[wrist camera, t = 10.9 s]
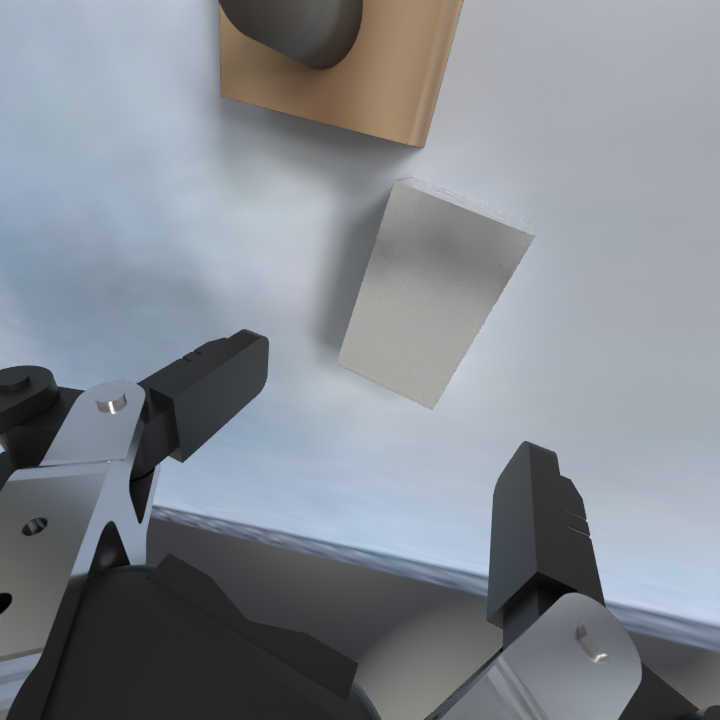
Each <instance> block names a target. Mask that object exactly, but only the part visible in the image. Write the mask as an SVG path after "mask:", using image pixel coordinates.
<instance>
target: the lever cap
mask: <svg viewBox="0 0 720 720" xmlns="http://www.w3.org/2000/svg"><path fill="white" fill-rule="evenodd" d="M534 237H535V235H534V232H533V230H532V228H531V226H530V223H528V222H526V221H523V220H521V219H518V218H516V217H513V216H510V215H508V214H505V213H503V212H500V211H498V210H495V209H492V208H490V207H487V206H485V205H482V204H480V203H477V202H474V201H472V200H469V199H467V198H464V197H462V196H459V195H457V194H454V193H451V192H449V191H446V190H444V189H441V188H439V187H436V186H433V185H431V184H428V183H426V182H423V181H421V180H418V179H415V178H407V179H402V180H396V181H394V184H393V187H392V190H391V193H390V196H389V200H388V203H387V206H386V209H385V212H384V215H383V218H382V222H381V225H380V228H379V231H378V234H377V237H376V240H375V243H374V247H373V250H372V253H371V256H370V259H369V262H368V265H367V268H366V272H365V275H364V278H363V281H362V284H361V287H360V290H359V293H358V297H357V300H356V303H355V306H354V309H353V312H352V315H351V318H350V322H349V325H348V328H347V331H346V334H345V337H344V340H343V343H342V347H341V350H340V353H339V356H338V359H337V362H336V364H338V365H340V366H342V367H344V368H346V369H348V370H350V371H352V372H354V373H356V374H359V375H361V376H363V377H365V378H367V379H369V380H371V381H373V382H375V383H377V384H379V385H381V386H384V387H386V388H388V389H390V390H392V391H394V392H396V393H398V394H400V395H402V396H404V397H406V398H408V399H411V400H413V401H415V402H417V403H419V404H421V405H423V406H425V407H427V408H429V409H431V410H433V408H434V406H435V405H436V403H437V401H438V400H439V398H440V396H441V395H442V393H443V391H444V389H445V388H446V386H447V384H448V383H449V381H450V379H451V378H452V376H453V374H454V373H455V371H456V369H457V367H458V366H459V364H460V362H461V361H462V359H463V357H464V356H465V354H466V352H467V351H468V349H469V347H470V345H471V344H472V342H473V340H474V339H475V337H476V335H477V334H478V332H479V330H480V329H481V327H482V325H483V323H484V322H485V320H486V318H487V317H488V315H489V313H490V312H491V310H492V308H493V306H494V305H495V303H496V301H497V300H498V298H499V296H500V295H501V293H502V291H503V290H504V288H505V286H506V284H507V283H508V281H509V279H510V278H511V276H512V274H513V273H514V271H515V269H516V268H517V266H518V264H519V262H520V261H521V259H522V257H523V256H524V254H525V252H526V251H527V249H528V247H529V246H530V244H531V242H532V240H533V239H534Z"/></svg>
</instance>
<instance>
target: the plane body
mask: <svg viewBox="0 0 720 720" xmlns="http://www.w3.org/2000/svg"><path fill="white" fill-rule="evenodd" d="M218 1H219V18H220V75H221V97H225V98H229V99H232V100H236V101H240V102H244V103H248V104H252V105H256V106H260V107H263V108H267V109H271V110H275V111H279V112H283V113H287V114H291V115H294V116H298V117H302V118H306V119H310V120H314V121H318V122H322V123H325V124H329V125H333V126H337V127H341V128H345V129H349V130H353V131H356V132H360V133H364V134H368V135H372V136H376V137H380V138H384V139H387V140H391V141H395V142H399V143H403V144H407V145H412V146H417V147H422V148H424V146H425V142H426V138H427V135H428V131H429V127H430V123H431V120H432V116H433V112H434V108H435V105H436V101H437V97H438V94H439V90H440V86H441V82H442V79H443V75H444V71H445V67H446V64H447V60H448V56H449V53H450V49H451V45H452V41H453V38H454V34H455V30H456V27H457V23H458V19H459V15H460V12H461V8H462V4H463V0H218Z"/></svg>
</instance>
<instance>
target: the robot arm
mask: <svg viewBox="0 0 720 720" xmlns="http://www.w3.org/2000/svg"><path fill="white" fill-rule="evenodd" d="M268 353H269V341H268V339H267V337H264V336H262V335H259V334H257V333H254V332H252V331H249V330H247V329H243V330H241V331H239V332H237V333H236V334H234V335H233V336H231V337H229V338H228V339H227V338H221V339H218V340H214V341H210V342H207V343H206V344H204V345H202V346H200V347H199V348H197V349H195V350H194V352H190V353H188V354H187V355H185V356H183V358H182V359H178V360H176V361H175V362H173V363H171V364H170V365H168V366H166V367H165V368H163V369H161V370H159V371H158V372H156V373H154V374H153V375H151V376H149V377H147V378H146V379H144V380H142V381H141V382H139V383H137V384H135V383H132V382H126V381H114V382H107V383H103V384H100V385H97V386H94V387H92V388H90V389H88V390H86V391H83V390H77V389H70V388H64V387H58V386H57V384H56V382H55V379H54V377H53V374H52V372H51V371H49V370H48V369H46V368H43V367H39V366H16V367H10V368H6V369H2V370H0V443H1V445H2V447H3V448H4V450H5V451H4V452H2V453H1V454H0V720H381V718H380V716H379V714H378V713H377V711H376V709H375V707H374V705H373V703H372V702H371V701H370V699H369V698H368V696H367V695H366V693H365V692H364V691H363V689H362V688H361V687H360V686H359V685H358V684H357V683H356V681H355V680H354V676H355V673H356V669H357V666H358V663H356V662H355V661H353V660H351V659H350V658H348V657H346V656H344V655H343V654H341V653H339V652H337V651H336V650H334V649H332V648H331V647H329V646H327V645H326V644H324V643H322V642H320V641H319V640H317V639H315V638H314V637H312V636H310V635H309V634H307V633H302V632H297V631H293V630H288V629H283V628H278V627H274V626H269V625H264V624H260V623H255V622H252V621H249V620H248V619H246V618H245V617H244V616H243V614H242V613H241V612H240V611H239V610H238V609H237V608H236V606H235V605H234V604H233V603H232V601H231V600H230V599H229V598H228V597H227V596H226V594H225V593H224V592H223V591H222V590H221V589H220V588H219V586H218V585H217V584H216V583H215V581H214V580H213V579H212V578H211V577H209V576H208V575H206V574H204V573H202V572H201V571H199V570H197V569H196V568H194V567H192V566H191V565H189V564H187V563H186V562H184V561H182V560H180V559H179V558H177V557H175V556H173V555H172V554H170V553H169V554H168V555H167V556H166V557H165V558H164V559H163V560H162V562H161V563H160V564H159V565H158V566H156V565H145V561H146V532H147V527H148V522H149V518H150V513H151V509H152V504H153V500H154V495H155V491H156V486H157V482H158V477H159V473H160V462H161V461H163V460H164V459H165V458H166V457H167V456H170V457H172V458H174V459H176V460H178V461H180V462H181V463H183V462H184V461H185V460H186V459H188V458H189V457H190V456H191V455H192V454H193V453H194V452H195V451H196V450H197V449H199V448H200V447H201V446H202V445H203V444H204V443H205V442H206V441H207V440H208V439H210V438H211V437H212V436H213V435H214V434H215V433H216V432H217V431H218V430H219V429H221V428H222V427H223V426H224V425H225V424H226V423H227V422H228V421H229V420H230V419H232V418H233V417H234V416H235V415H236V414H237V413H238V412H239V411H240V410H241V409H243V408H244V407H245V406H246V405H247V404H248V403H249V402H250V401H251V400H252V399H254V398H255V397H256V396H257V395H258V394H259V393H260V392H261V390H262V389H263V387H264V385H265V383H266V380H267V372H268ZM586 519H587V518H586V513H585V509H584V504H583V499H582V498H581V496H580V494H579V493H578V491H577V489H576V488H575V486H574V484H573V483H572V481H571V479H568V478H566V477H563V476H561V475H560V471H559V465H558V458H557V455H556V453H555V452H553V451H550V450H548V449H545V448H543V447H540V446H538V445H535V444H533V443H530V442H528V441H524V442H523V443H522V444H521V445H520V447H519V448H518V450H517V451H516V453H515V454H514V456H513V457H512V459H511V460H510V461H509V463H508V464H507V466H506V467H505V469H504V470H503V472H502V473H501V475H500V477H499V479H498V481H497V483H496V486H495V490H494V494H493V508H492V527H491V546H490V565H489V583H488V602H487V603H488V604H487V621H488V622H490V623H492V624H494V625H496V626H498V627H500V628H501V629H503V646H501V647H500V648H499V649H498V650H497V651H496V652H495V653H494V654H493V655H492V656H491V657H489V658H488V659H487V660H486V661H485V662H484V663H483V664H482V665H481V666H480V667H479V668H478V669H477V670H476V671H475V672H474V673H473V674H472V675H471V676H470V677H469V678H468V679H466V680H465V682H463V683H462V685H460V686H459V687H458V688H457V689H456V690H455V691H454V692H453V693H452V694H451V695H450V696H449V697H448V698H447V699H446V700H445V701H443V702H442V703H441V704H440V705H439V706H438V707H437V708H436V709H435V710H434V711H433V712H431V714H429V715H428V716H427V717H426V718H425V719H424V720H720V706H719V705H715V706H711V707H708V708H705V709H702V710H699V709H698V708H697V707H696V706H694V705H693V704H692V703H690V702H689V701H688V700H687V699H685V698H684V697H683V696H682V695H680V694H679V693H678V692H677V691H676V690H674V689H673V688H672V687H671V686H670V685H668V684H667V683H666V682H664V681H663V680H662V679H661V678H660V677H658V676H657V675H656V674H655V673H653V672H652V671H651V670H650V669H649V668H648V667H646V666H645V665H644V664H643V663H642V662H641V661H640V657H639V655H638V652H637V649H636V647H635V645H634V643H633V641H632V639H631V638H630V636H629V634H628V632H627V631H626V630H625V628H624V627H623V626H622V624H621V623H620V622H619V621H618V619H617V618H616V617H615V616H614V615H613V614H612V613H611V612H610V611H609V610H608V609H606V606H605V602H604V597H603V593H602V588H601V583H600V579H599V574H598V569H597V565H596V560H595V555H594V551H593V546H592V541H591V539H590V538H589V536H590V532H589V527H588V523H587V522H586Z"/></svg>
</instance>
